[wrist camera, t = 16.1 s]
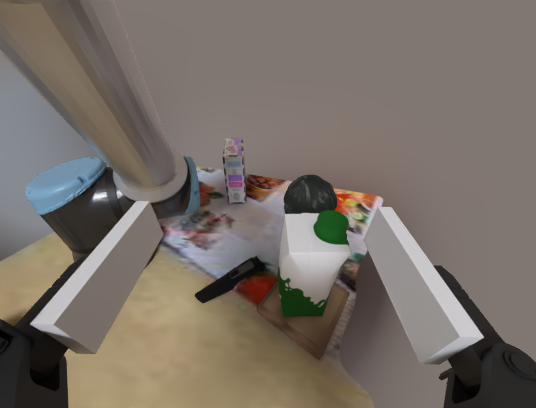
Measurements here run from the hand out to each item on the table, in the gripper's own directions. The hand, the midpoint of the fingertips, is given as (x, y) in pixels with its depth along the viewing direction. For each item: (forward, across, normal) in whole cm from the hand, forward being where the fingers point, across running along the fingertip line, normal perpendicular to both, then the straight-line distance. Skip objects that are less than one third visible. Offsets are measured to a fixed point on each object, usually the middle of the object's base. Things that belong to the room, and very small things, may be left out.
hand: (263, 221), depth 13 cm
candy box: (+49, -11, -32) cm, 60 cm away
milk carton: (+11, +7, -30) cm, 33 cm away
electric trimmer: (+16, -7, -32) cm, 37 cm away
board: (+11, +8, -32) cm, 35 cm away
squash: (+37, +12, -32) cm, 51 cm away
